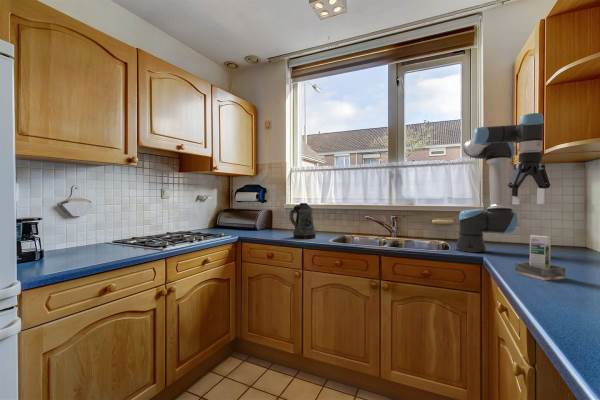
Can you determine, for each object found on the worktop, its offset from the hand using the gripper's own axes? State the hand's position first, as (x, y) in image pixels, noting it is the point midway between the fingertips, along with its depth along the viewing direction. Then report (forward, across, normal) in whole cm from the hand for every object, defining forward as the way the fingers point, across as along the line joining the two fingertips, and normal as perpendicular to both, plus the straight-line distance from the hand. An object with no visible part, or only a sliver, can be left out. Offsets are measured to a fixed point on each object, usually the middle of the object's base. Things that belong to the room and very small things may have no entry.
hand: (528, 204), depth 118 cm
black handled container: (+29, -65, +109) cm, 130 cm away
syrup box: (+26, -4, -8) cm, 28 cm away
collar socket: (+27, -5, -8) cm, 29 cm away
